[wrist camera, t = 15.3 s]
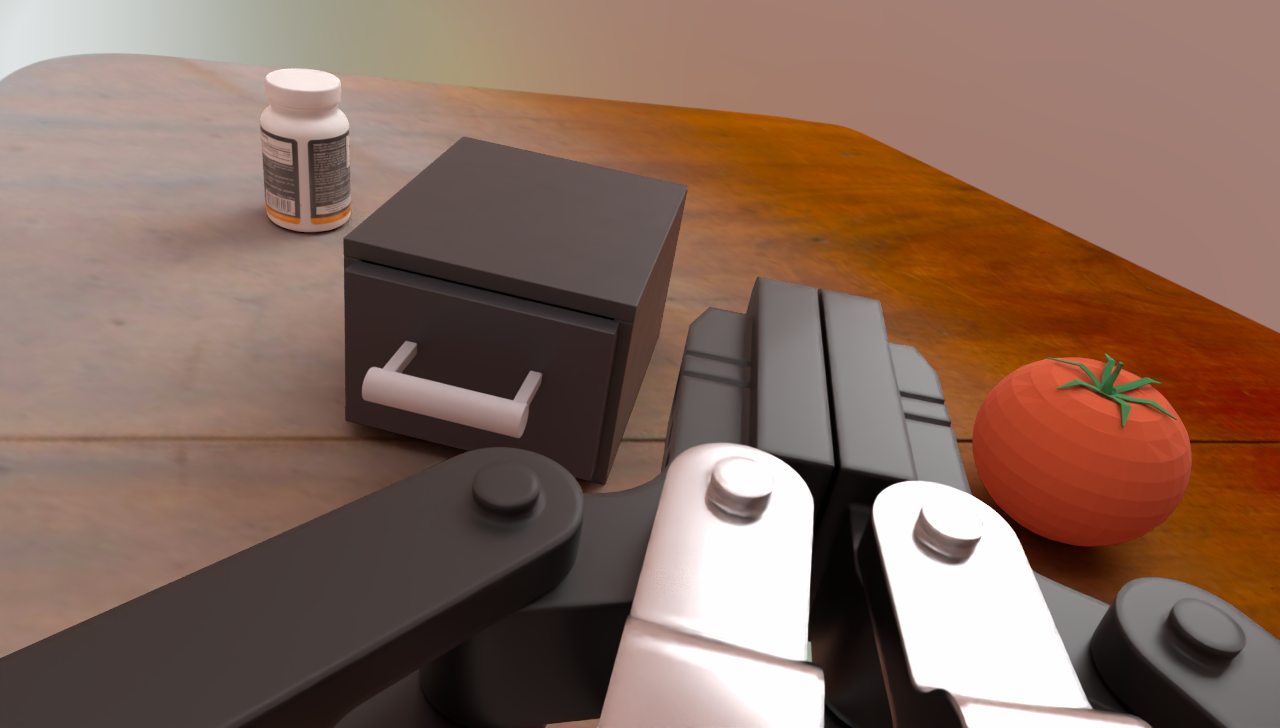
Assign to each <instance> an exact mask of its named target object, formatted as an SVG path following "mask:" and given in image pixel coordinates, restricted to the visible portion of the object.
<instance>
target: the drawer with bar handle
mask: <svg viewBox="0 0 1280 728" xmlns="http://www.w3.org/2000/svg"><path fill="white" fill-rule="evenodd" d="M344 299H345V391H346V421H350V422H354V423H358V424H362V425H366V426H370V427H374V428H378V429H382V430H386V431H390V432H394V433H398V434H402V435H406V436H411V437H415V438H419V439H423V440H427V441H431V442H435V443H439V444H443V445H447V446H451V447H455V448H459V449H463V450H467V451H472V450H477V449H481V448H491V447H509V448H517V449H523V450H527V451H532V452H535V453H538V454H540V455H543V456H546V457H548V458H550V459H552V460H553V461H555V462H557V463H558V464H560V465H561V466H563V467H564V468H565V469H567V470H568V471H569V472H570V473H571V474H572V475H573V476H574V477H575V478H579V479H583V480H587V481H591V479H592V476H593V474H594V471H595V468H596V464H597V458H598V452H599V447H600V441H601V435H602V429H603V423H604V417H605V411H606V405H607V399H608V393H609V387H610V381H611V375H612V369H613V363H614V357H615V351H616V346H617V340H618V334H619V328H620V322H617V321H614V320H615V319H613V318H609V317H605V316H600V315H596V314H592V313H588V312H583V311H579V310H575V309H570V308H566V307H562V306H558V305H553V304H549V303H545V302H541V301H536V300H532V299H528V298H523V297H519V296H515V295H511V294H506V293H502V292H498V291H494V290H489V289H485V288H481V287H476V286H472V285H468V284H464V283H459V282H455V281H451V280H447V279H442V278H438V277H434V276H430V275H425V274H421V273H417V272H412V271H408V270H404V269H400V268H395V267H391V266H387V265H385V267H383V266H378V265H374V264H370V263H366V262H361V261H357V260H355V261H354V262H353V263H352V264H351V265H350V266H349V267H348V268H347V269H346V270H345V271H344Z"/></svg>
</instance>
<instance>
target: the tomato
mask: <svg viewBox="0 0 1280 728" xmlns="http://www.w3.org/2000/svg"><path fill="white" fill-rule="evenodd" d="M1104 355H1105V356H1106V358H1107V359H1108V362H1107V363H1104V362H1100V361H1096V360H1092V359H1087V358H1049V357H1046V358H1047V359H1045V360H1041V361H1038V362H1034V363H1030V364H1028V365H1025V366H1022V367H1020V368H1019V369H1017V370H1016V371H1014V372H1012V373H1011V374H1009V375H1008V376H1006V377H1005V378H1004V379H1002V380H1001V381H1000V382H999V383H998V384H997V385H996V386H995V387H994V388H993V389H992V390H991V391H990V393H989V394H988V396H987V398H986V399H985V401H984V403H983V404H982V406H981V408H980V410H979V411H978V414H977V417H976V421H975V425H974V430H973V455H974V459H975V463H976V467H977V471H978V474H979V477H980V478H981V480H982V482H983V484H984V486H985V488H986V489H987V491H988V493H989V494H990V496H991V497H992V499H993V500H994V501H995V502H996V504H997V505H998V506H999V507H1000V508H1001V509H1002V510H1004V511H1005V512H1006V513H1007V514H1008V515H1009V516H1010V517H1011V518H1012V519H1014V520H1015V521H1016V522H1018V523H1019V524H1020V525H1022V526H1023V527H1025V528H1027V529H1028V530H1030V531H1032V532H1034V533H1036V534H1038V535H1040V536H1042V537H1045V538H1048V539H1051V540H1054V541H1057V542H1062V543H1066V544H1071V545H1075V546H1085V547H1091V546H1100V545H1116V544H1120V543H1123V542H1127V541H1130V540H1132V539H1135V538H1138V537H1140V536H1143V535H1144V534H1146V533H1148V532H1149V531H1151V530H1153V529H1154V528H1155V527H1157V526H1158V525H1159V524H1161V523H1162V522H1164V521H1165V520H1166V519H1167V518H1168V516H1169V515H1170V514H1171V513H1172V511H1173V510H1174V509H1175V508H1176V506H1177V505H1178V504H1179V502H1180V501H1181V500H1182V498H1183V495H1184V493H1185V491H1186V488H1187V486H1188V484H1189V478H1190V471H1191V463H1192V454H1191V448H1190V442H1189V437H1188V433H1187V431H1186V429H1185V427H1184V425H1183V423H1182V421H1181V419H1180V418H1179V416H1178V415H1177V413H1176V412H1175V410H1174V409H1173V408H1172V406H1171V405H1170V404H1169V402H1168V401H1167V400H1166V399H1165V398H1164V397H1163V396H1162V395H1161V394H1160V393H1159V392H1158V391H1157V390H1156V389H1154V388H1153V387H1152V386H1151V385H1149V384H1150V383H1155V384H1161V383H1159V382H1157V381H1155V380H1152V379H1150V378H1147V377H1145V378H1142V379H1141V378H1139V377H1138V376H1136V375H1134V374H1132V373H1130V372H1128V371H1125V370H1123V369H1122V366H1123V364H1124V363H1122V362H1119V363H1118V365H1117V366H1114V364H1115V360H1113V359H1112V358H1111V357H1110V356H1108V355H1107V354H1104Z"/></svg>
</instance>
